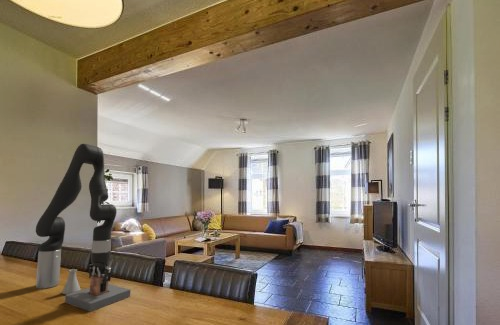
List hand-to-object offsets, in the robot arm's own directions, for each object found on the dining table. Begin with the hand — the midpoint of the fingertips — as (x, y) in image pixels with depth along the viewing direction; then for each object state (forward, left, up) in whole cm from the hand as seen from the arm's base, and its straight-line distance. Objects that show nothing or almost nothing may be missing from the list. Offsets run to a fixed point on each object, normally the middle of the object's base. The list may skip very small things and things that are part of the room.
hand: (98, 290), depth 122 cm
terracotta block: (0, 0, -2) cm, 2 cm away
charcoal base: (0, 0, -4) cm, 4 cm away
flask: (-19, -1, -4) cm, 19 cm away
